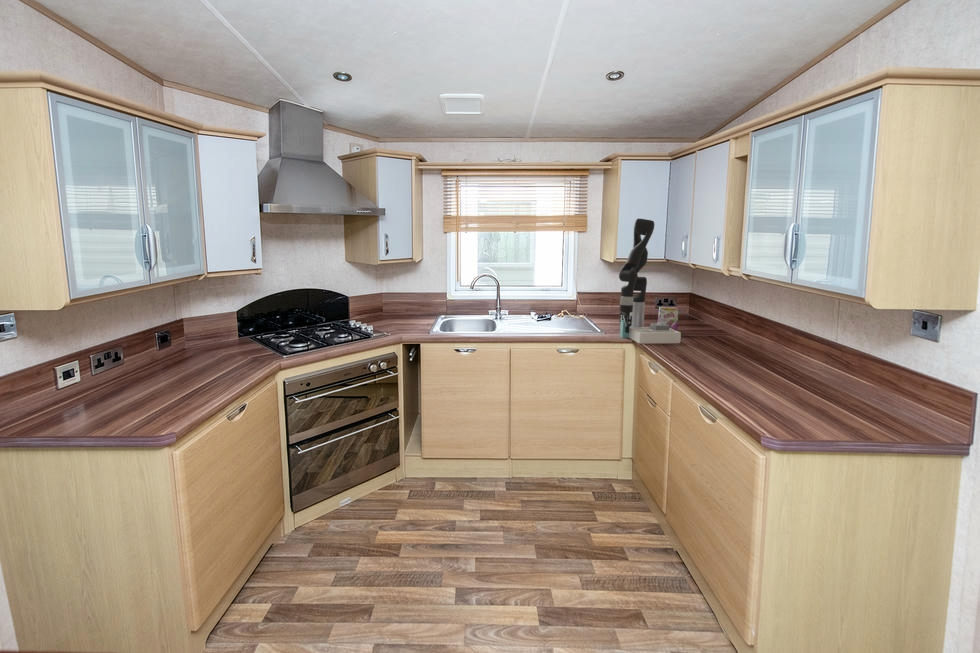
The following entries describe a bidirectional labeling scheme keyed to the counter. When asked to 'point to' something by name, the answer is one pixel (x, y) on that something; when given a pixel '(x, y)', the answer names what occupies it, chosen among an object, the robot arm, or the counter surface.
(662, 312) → the candy bar box
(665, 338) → the white tray
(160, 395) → the counter surface
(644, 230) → the robot arm
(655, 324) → the shutter
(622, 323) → the plug
